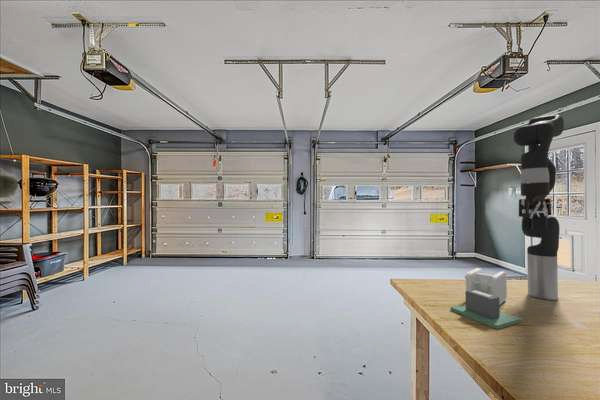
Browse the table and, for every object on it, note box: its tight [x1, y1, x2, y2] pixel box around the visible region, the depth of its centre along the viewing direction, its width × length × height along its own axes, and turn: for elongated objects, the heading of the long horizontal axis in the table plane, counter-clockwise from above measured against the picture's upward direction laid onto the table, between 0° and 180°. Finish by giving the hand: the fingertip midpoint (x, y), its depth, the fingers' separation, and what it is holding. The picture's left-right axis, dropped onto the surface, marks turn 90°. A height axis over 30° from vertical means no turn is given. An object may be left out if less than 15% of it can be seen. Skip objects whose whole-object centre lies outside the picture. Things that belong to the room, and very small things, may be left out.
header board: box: [450, 303, 522, 330], centre depth 93 cm, size 12×16×5 cm
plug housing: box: [464, 289, 501, 319], centre depth 93 cm, size 4×9×7 cm, turn 22°
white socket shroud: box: [464, 267, 508, 306], centre depth 107 cm, size 15×11×12 cm
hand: (535, 228), depth 93 cm, fingers open, 8 cm apart
